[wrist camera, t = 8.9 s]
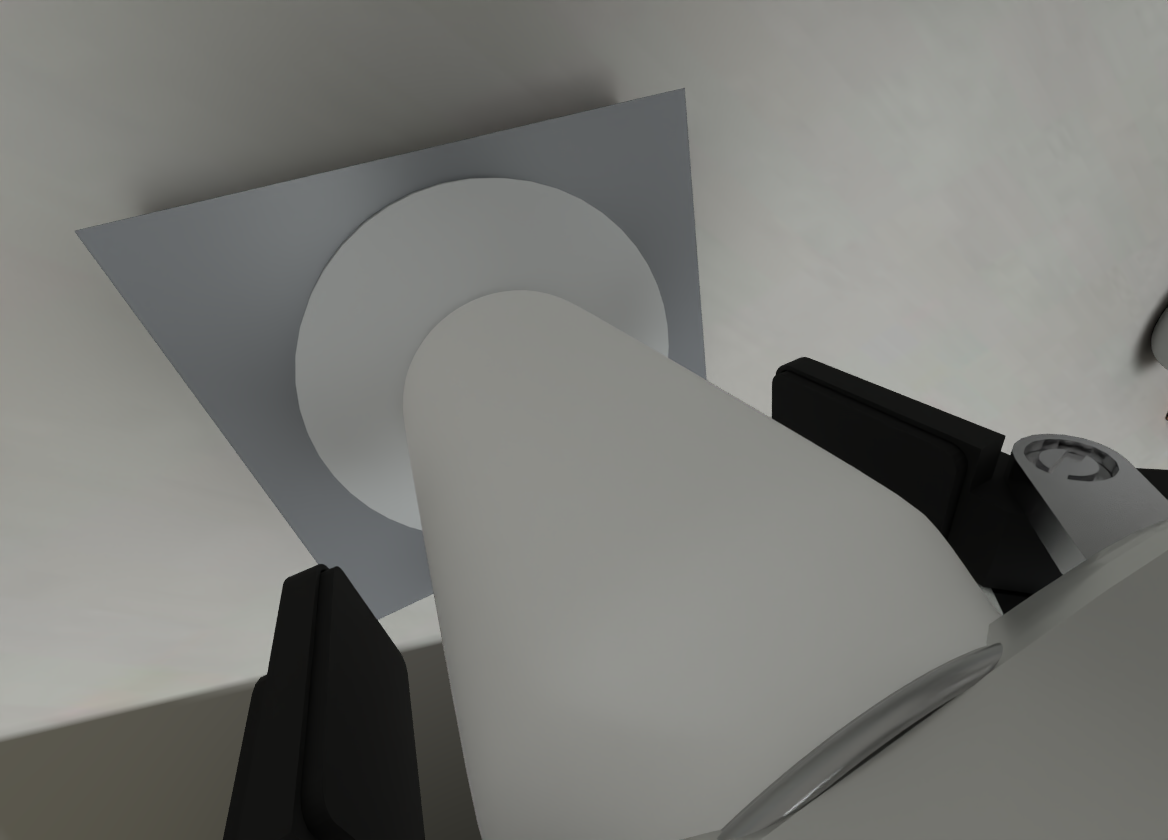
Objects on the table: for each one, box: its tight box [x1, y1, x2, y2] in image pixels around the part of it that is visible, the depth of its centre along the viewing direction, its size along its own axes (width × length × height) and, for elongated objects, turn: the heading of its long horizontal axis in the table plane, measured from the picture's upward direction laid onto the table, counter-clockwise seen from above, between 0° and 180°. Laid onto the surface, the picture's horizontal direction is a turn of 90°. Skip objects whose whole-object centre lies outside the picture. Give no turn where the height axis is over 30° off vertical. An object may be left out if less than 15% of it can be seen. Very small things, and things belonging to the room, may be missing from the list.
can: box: [403, 290, 1003, 840], centre depth 9 cm, size 6×6×12 cm
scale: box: [75, 88, 706, 620], centre depth 14 cm, size 14×15×12 cm
